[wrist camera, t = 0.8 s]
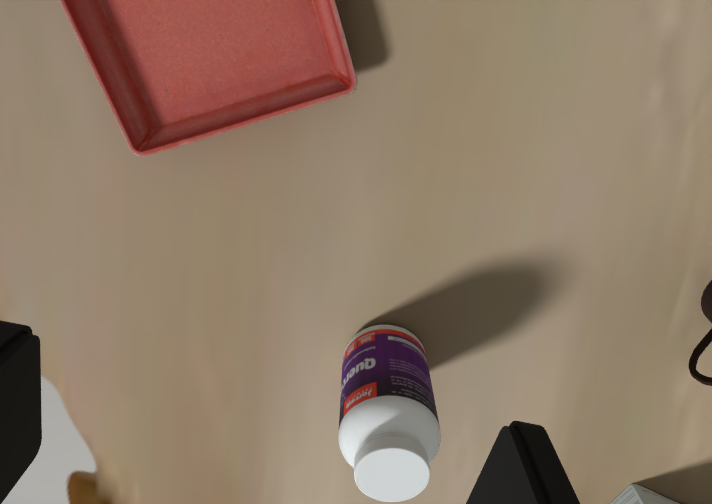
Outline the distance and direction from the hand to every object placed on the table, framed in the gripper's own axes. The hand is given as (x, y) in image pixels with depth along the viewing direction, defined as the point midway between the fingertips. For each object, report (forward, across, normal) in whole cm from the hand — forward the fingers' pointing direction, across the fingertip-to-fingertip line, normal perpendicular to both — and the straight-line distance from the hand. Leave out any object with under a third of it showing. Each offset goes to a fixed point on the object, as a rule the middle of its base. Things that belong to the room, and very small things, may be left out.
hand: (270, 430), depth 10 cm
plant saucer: (+34, +11, -7) cm, 36 cm away
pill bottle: (+33, -10, +20) cm, 40 cm away
